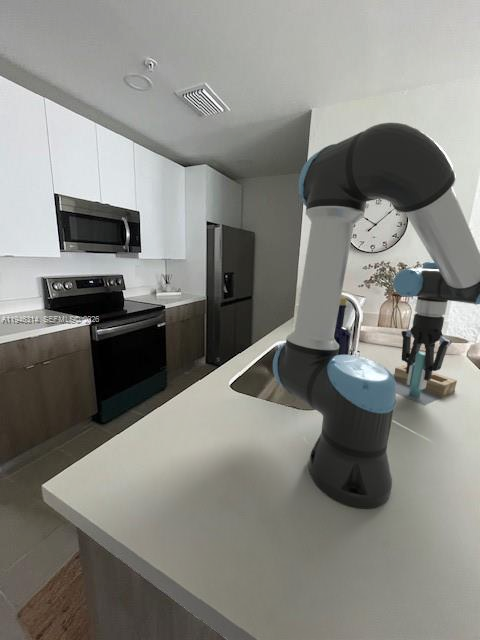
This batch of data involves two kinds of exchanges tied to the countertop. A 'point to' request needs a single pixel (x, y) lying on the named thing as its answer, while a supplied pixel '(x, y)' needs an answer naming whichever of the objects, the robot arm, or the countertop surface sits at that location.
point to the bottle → (342, 330)
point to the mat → (423, 399)
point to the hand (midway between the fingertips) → (416, 386)
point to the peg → (417, 374)
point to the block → (430, 382)
